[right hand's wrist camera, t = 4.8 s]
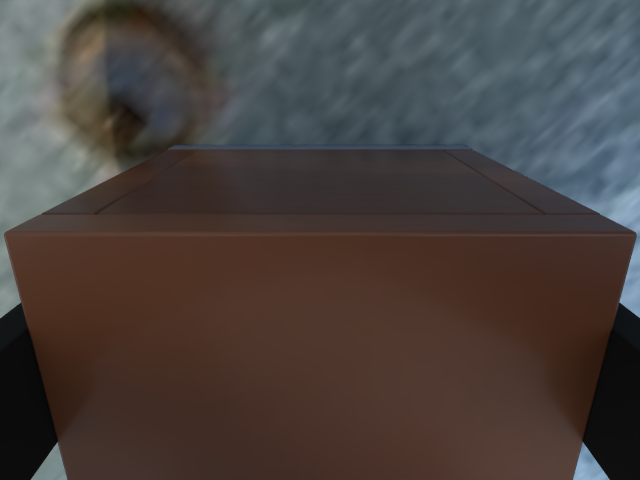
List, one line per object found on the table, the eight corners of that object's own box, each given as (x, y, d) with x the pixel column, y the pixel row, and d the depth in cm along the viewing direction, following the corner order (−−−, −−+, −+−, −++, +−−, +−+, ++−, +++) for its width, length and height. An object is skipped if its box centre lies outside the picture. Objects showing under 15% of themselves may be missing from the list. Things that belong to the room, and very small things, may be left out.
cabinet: (426, 490, 23) (498, 769, 14) (212, 490, 23) (141, 770, 14) (465, 145, 17) (640, 231, 8) (174, 145, 17) (-1, 231, 8)
